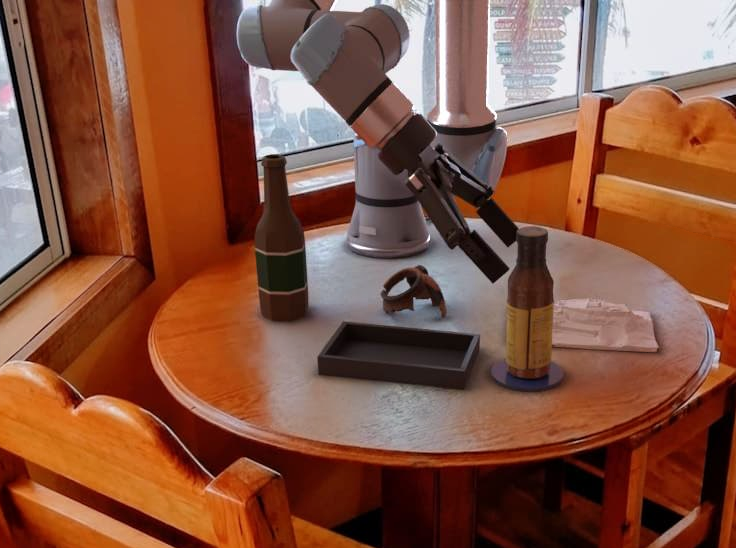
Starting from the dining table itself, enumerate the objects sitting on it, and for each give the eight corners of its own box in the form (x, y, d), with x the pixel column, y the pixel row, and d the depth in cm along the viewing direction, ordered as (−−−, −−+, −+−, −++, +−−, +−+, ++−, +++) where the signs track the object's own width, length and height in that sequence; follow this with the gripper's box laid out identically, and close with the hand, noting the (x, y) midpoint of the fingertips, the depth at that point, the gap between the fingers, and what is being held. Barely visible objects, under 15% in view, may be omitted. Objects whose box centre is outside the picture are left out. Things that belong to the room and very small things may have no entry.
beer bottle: (250, 317, 153) (235, 159, 140) (277, 300, 159) (265, 147, 145) (293, 326, 150) (282, 166, 137) (319, 308, 156) (310, 153, 143)
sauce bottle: (551, 363, 138) (563, 224, 127) (548, 383, 133) (560, 239, 122) (505, 360, 139) (513, 221, 128) (500, 379, 134) (508, 236, 123)
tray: (343, 338, 146) (342, 321, 145) (479, 351, 143) (480, 333, 141) (318, 374, 136) (317, 356, 135) (463, 389, 132) (464, 371, 131)
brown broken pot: (450, 329, 150) (425, 289, 145) (396, 349, 154) (370, 310, 149) (453, 282, 158) (430, 242, 153) (402, 302, 162) (378, 264, 157)
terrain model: (501, 315, 157) (501, 284, 154) (645, 309, 156) (647, 278, 154) (509, 358, 143) (509, 325, 140) (667, 352, 142) (671, 319, 140)
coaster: (496, 356, 141) (496, 353, 141) (566, 363, 139) (566, 359, 139) (485, 387, 133) (485, 383, 133) (558, 395, 131) (559, 391, 131)
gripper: (398, 129, 134) (501, 244, 140) (348, 179, 114) (472, 311, 120) (436, 90, 130) (541, 210, 136) (392, 134, 110) (517, 273, 116)
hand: (509, 257), depth 128 cm, fingers open, 13 cm apart
